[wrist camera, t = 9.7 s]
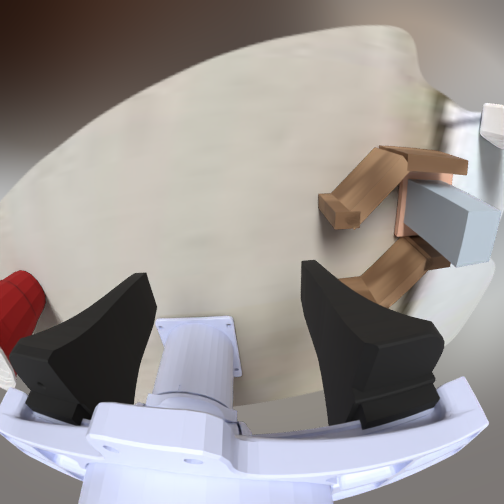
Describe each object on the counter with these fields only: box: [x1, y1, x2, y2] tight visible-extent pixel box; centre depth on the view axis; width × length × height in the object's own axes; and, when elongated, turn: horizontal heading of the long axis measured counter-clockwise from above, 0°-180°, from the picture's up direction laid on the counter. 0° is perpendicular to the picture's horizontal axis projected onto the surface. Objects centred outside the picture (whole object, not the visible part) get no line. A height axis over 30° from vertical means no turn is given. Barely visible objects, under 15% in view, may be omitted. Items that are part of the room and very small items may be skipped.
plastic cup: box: [0, 270, 46, 390], centre depth 19 cm, size 11×11×12 cm
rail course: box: [318, 146, 468, 309], centre depth 20 cm, size 13×12×4 cm
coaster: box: [394, 171, 453, 237], centre depth 21 cm, size 7×6×1 cm
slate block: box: [404, 179, 501, 267], centre depth 17 cm, size 4×4×8 cm
